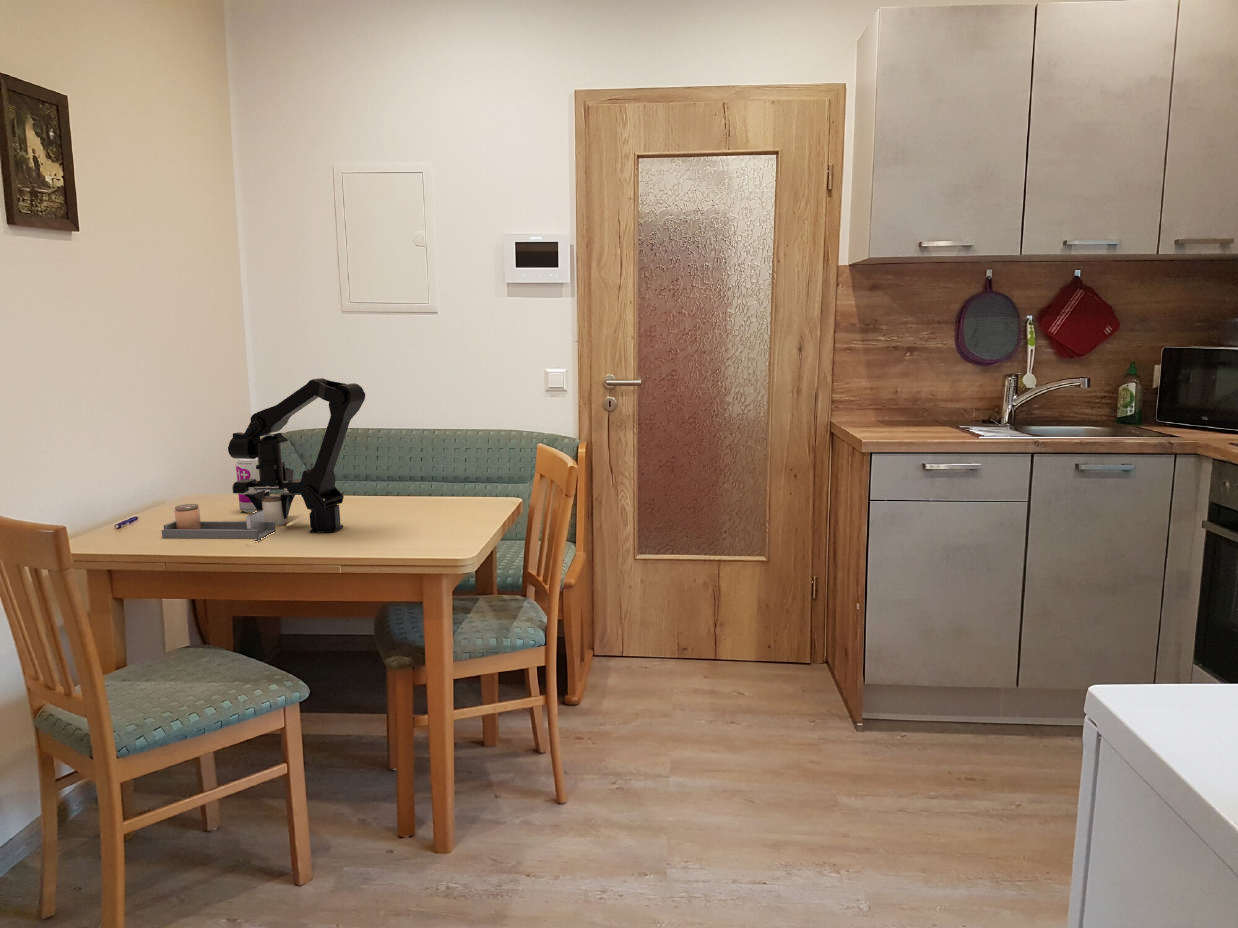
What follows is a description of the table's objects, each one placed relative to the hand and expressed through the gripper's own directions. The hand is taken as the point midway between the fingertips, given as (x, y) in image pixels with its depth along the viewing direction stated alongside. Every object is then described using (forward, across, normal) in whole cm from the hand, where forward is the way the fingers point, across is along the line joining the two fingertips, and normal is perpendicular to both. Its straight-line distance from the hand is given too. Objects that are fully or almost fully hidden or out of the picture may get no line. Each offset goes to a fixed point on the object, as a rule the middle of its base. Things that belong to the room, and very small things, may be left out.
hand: (274, 518), depth 221 cm
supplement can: (+2, +15, -19) cm, 24 cm away
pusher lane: (+2, +9, +11) cm, 14 cm away
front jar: (+1, +17, +11) cm, 20 cm away
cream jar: (+1, 0, 0) cm, 1 cm away
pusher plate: (+1, -1, +11) cm, 11 cm away
